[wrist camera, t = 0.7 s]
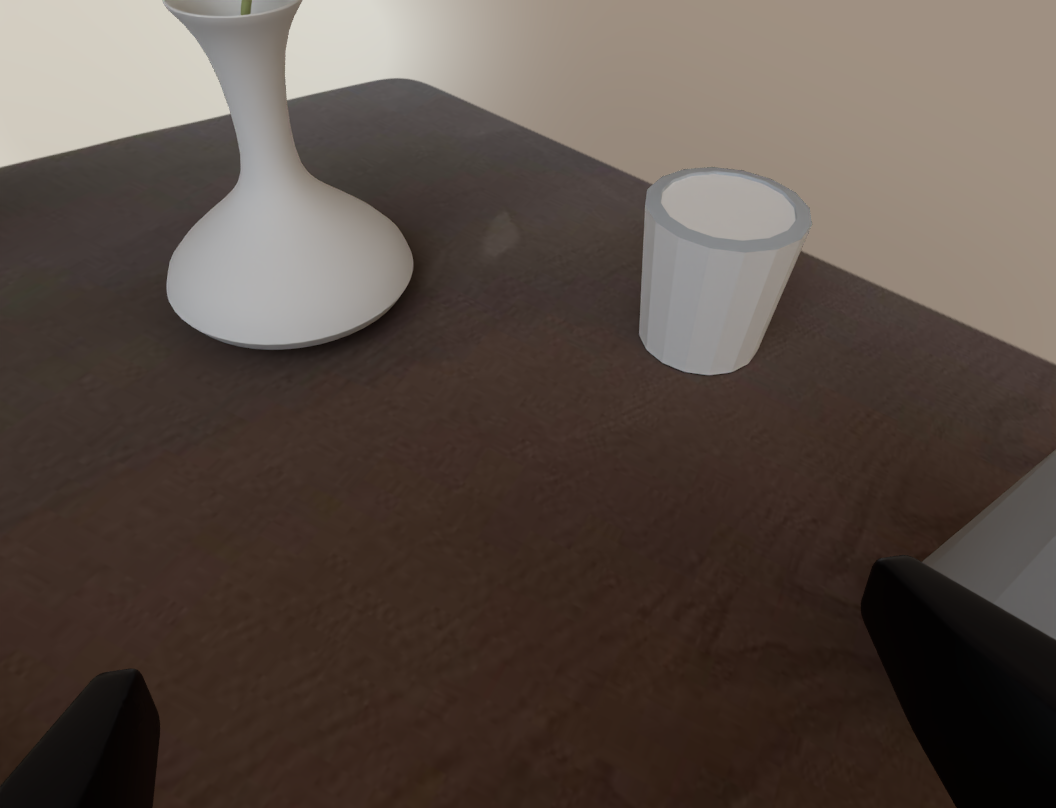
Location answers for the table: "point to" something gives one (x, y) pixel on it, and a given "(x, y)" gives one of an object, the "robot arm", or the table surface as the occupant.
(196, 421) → the table surface
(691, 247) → the shot glass
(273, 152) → the flower in vase
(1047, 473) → the salt shaker
